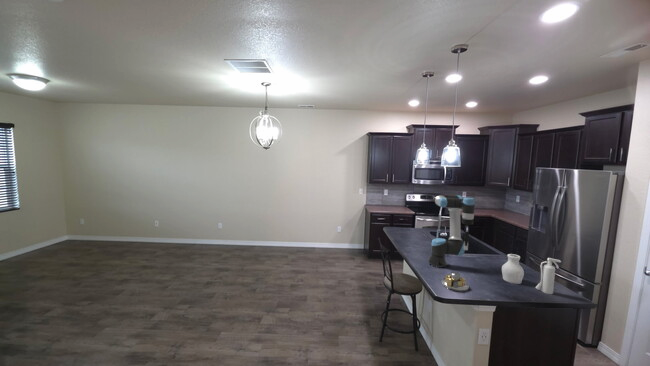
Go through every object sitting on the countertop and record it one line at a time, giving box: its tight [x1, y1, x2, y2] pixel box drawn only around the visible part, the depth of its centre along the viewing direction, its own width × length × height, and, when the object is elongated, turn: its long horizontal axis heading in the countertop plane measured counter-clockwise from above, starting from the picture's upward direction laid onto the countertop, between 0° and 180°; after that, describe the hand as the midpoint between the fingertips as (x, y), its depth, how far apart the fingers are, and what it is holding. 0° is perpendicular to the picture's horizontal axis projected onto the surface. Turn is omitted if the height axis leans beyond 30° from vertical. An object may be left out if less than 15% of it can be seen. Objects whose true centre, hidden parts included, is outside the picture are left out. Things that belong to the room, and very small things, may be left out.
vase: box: [501, 253, 525, 285], centre depth 201 cm, size 14×14×20 cm
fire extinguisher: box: [535, 257, 562, 295], centre depth 183 cm, size 7×12×25 cm, turn 65°
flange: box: [441, 271, 470, 292], centre depth 189 cm, size 18×18×9 cm
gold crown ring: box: [444, 274, 466, 287], centre depth 188 cm, size 17×12×5 cm
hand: (465, 249), depth 191 cm, fingers closed
